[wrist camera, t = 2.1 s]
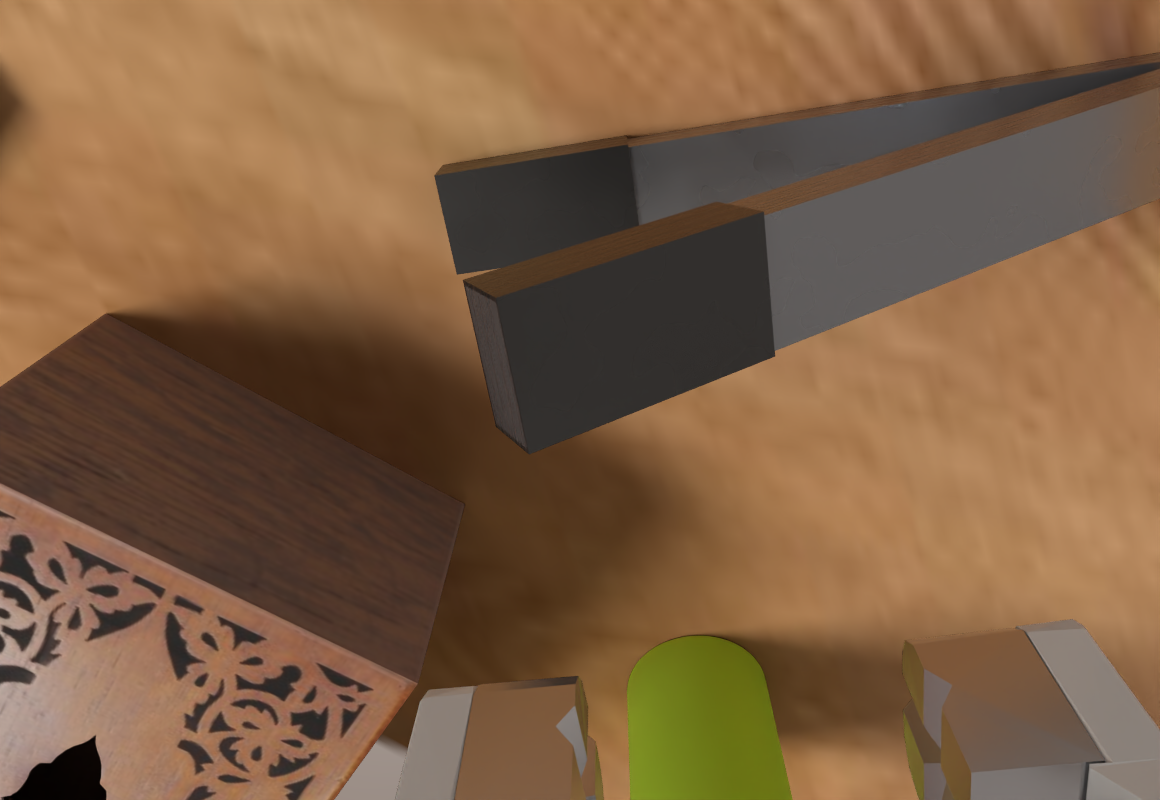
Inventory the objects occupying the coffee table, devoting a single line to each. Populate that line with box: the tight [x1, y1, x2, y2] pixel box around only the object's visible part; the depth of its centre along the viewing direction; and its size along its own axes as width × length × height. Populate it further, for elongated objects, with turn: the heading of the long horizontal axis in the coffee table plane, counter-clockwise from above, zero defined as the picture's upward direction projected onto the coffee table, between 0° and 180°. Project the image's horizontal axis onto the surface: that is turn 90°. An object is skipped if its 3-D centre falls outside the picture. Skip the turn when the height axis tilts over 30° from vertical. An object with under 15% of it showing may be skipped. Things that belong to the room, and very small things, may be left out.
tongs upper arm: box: [463, 69, 1160, 454], centre depth 22 cm, size 23×3×2 cm, turn 100°
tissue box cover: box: [0, 314, 465, 800], centre depth 34 cm, size 26×14×10 cm, turn 148°
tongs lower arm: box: [435, 53, 1160, 275], centre depth 28 cm, size 28×3×2 cm, turn 99°
